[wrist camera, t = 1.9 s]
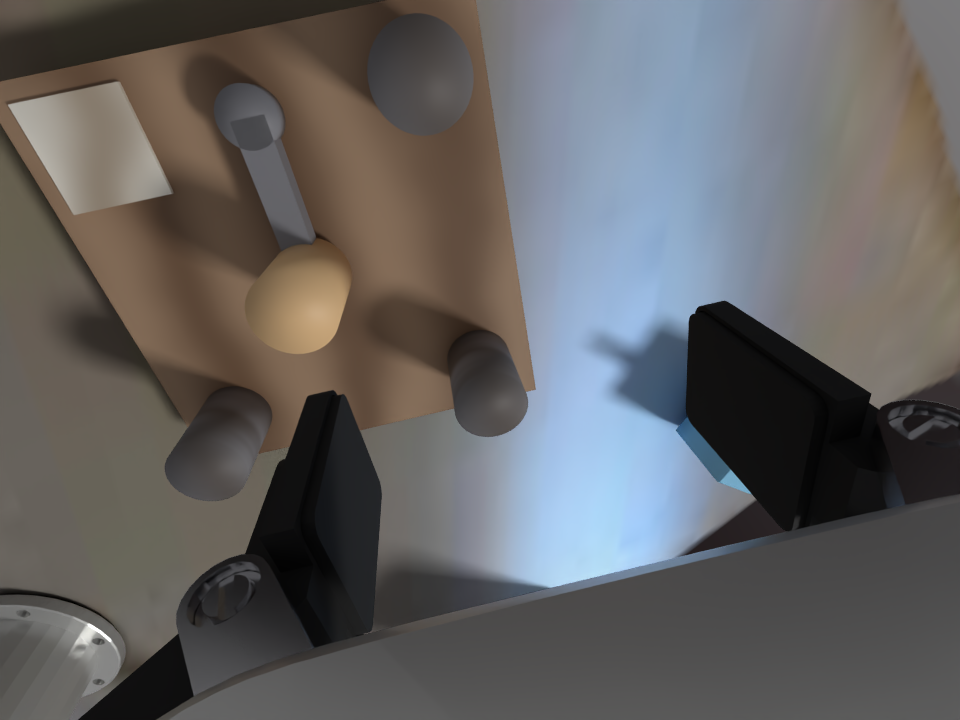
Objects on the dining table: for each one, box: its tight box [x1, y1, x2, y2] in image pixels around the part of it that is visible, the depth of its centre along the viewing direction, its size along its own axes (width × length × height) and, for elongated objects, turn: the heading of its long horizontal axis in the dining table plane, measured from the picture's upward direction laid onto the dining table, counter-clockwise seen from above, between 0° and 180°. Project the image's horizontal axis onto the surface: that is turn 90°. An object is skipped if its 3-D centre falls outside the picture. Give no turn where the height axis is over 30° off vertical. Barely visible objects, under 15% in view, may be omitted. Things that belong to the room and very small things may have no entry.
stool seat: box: [0, 0, 536, 501], centre depth 23 cm, size 20×20×8 cm
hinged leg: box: [214, 83, 352, 354], centre depth 20 cm, size 10×4×5 cm, turn 11°
